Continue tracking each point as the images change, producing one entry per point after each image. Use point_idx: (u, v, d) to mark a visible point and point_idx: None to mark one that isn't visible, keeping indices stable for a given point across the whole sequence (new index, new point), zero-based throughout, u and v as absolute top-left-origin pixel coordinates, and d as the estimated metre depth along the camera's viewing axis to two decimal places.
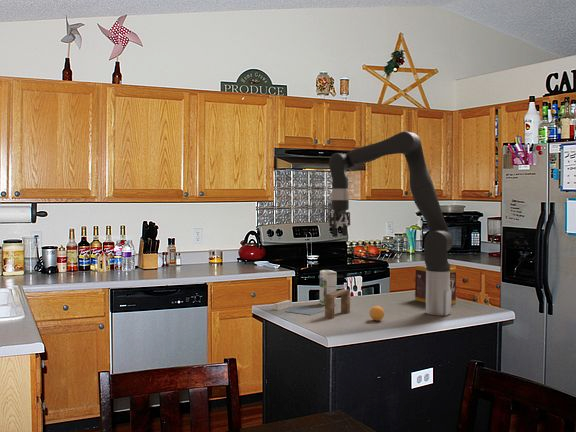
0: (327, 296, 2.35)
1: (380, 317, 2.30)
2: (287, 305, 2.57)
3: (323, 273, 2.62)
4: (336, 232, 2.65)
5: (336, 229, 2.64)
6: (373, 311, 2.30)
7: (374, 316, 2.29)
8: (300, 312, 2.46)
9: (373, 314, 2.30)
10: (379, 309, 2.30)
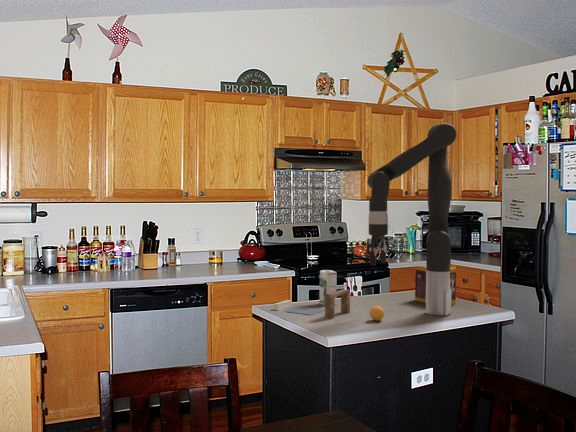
0: (327, 296, 2.35)
1: (380, 317, 2.30)
2: (287, 305, 2.57)
3: (323, 273, 2.62)
4: (374, 260, 2.36)
5: (374, 257, 2.36)
6: (373, 311, 2.30)
7: (374, 316, 2.29)
8: (300, 312, 2.46)
9: (373, 314, 2.30)
10: (379, 309, 2.30)
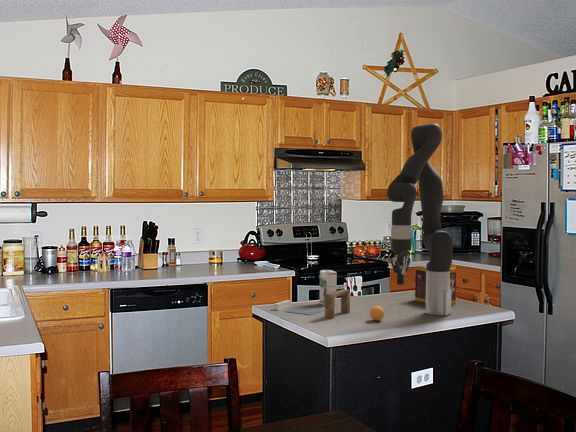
0: (327, 296, 2.35)
1: (380, 317, 2.30)
2: (287, 305, 2.57)
3: (323, 273, 2.62)
4: (402, 279, 2.25)
5: (402, 276, 2.25)
6: (373, 311, 2.30)
7: (374, 316, 2.29)
8: (300, 312, 2.46)
9: (373, 314, 2.30)
10: (379, 309, 2.30)
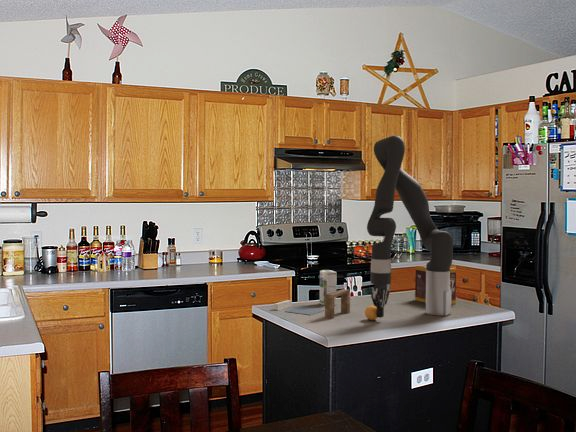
0: (327, 296, 2.35)
1: (376, 314, 2.30)
2: (287, 305, 2.57)
3: (323, 273, 2.62)
4: (381, 312, 2.29)
5: (381, 309, 2.29)
6: (367, 311, 2.31)
7: (370, 314, 2.30)
8: (300, 312, 2.46)
9: (368, 314, 2.31)
10: (371, 307, 2.31)
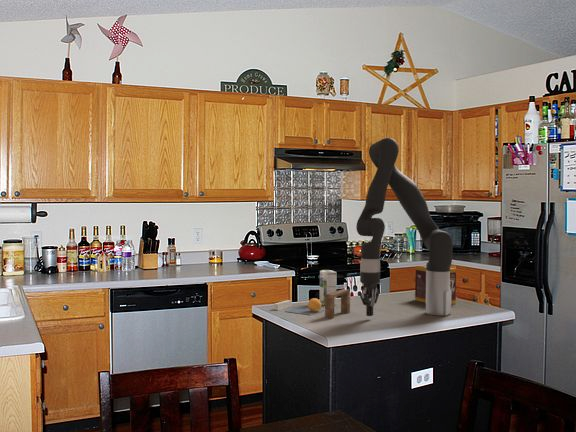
0: (327, 296, 2.35)
1: None
2: (287, 305, 2.57)
3: (323, 273, 2.62)
4: (371, 311, 2.32)
5: (371, 308, 2.32)
6: (312, 308, 2.46)
7: (309, 304, 2.46)
8: (300, 312, 2.46)
9: (311, 305, 2.46)
10: None
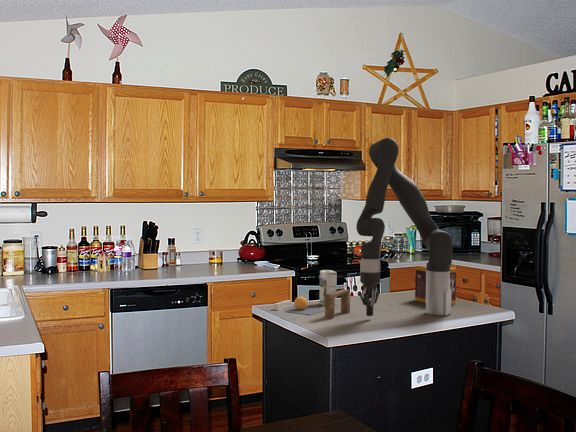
0: (327, 296, 2.35)
1: (302, 308, 2.50)
2: (287, 305, 2.57)
3: (323, 273, 2.62)
4: (371, 311, 2.32)
5: (371, 308, 2.32)
6: (297, 301, 2.50)
7: (297, 305, 2.50)
8: (300, 312, 2.46)
9: (296, 304, 2.50)
10: (303, 300, 2.50)
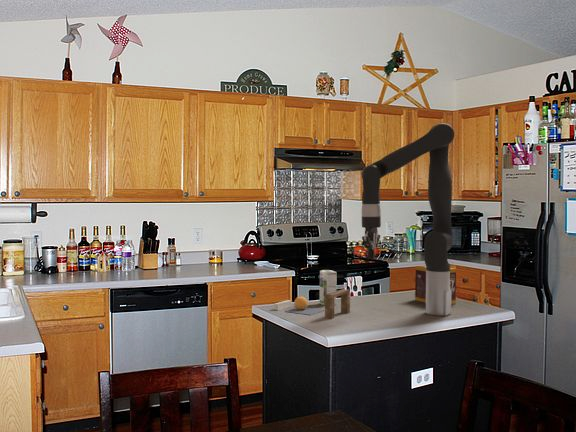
0: (327, 296, 2.35)
1: (302, 308, 2.50)
2: (287, 305, 2.57)
3: (323, 273, 2.62)
4: (372, 254, 2.44)
5: (372, 251, 2.44)
6: (297, 301, 2.50)
7: (297, 305, 2.50)
8: (300, 312, 2.46)
9: (296, 304, 2.50)
10: (303, 300, 2.50)
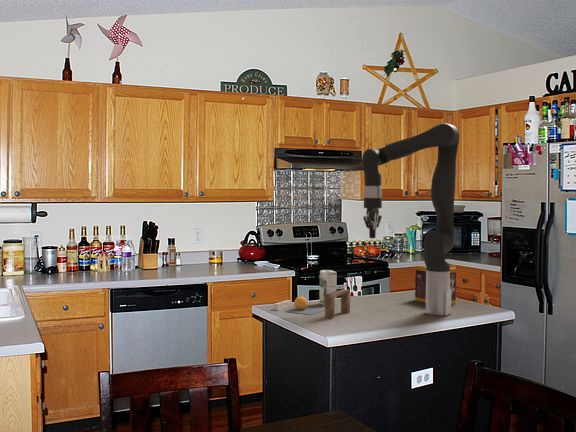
0: (327, 296, 2.35)
1: (302, 308, 2.50)
2: (287, 305, 2.57)
3: (323, 273, 2.62)
4: (373, 233, 2.57)
5: (373, 230, 2.57)
6: (297, 301, 2.50)
7: (297, 305, 2.50)
8: (300, 312, 2.46)
9: (296, 304, 2.50)
10: (303, 300, 2.50)
